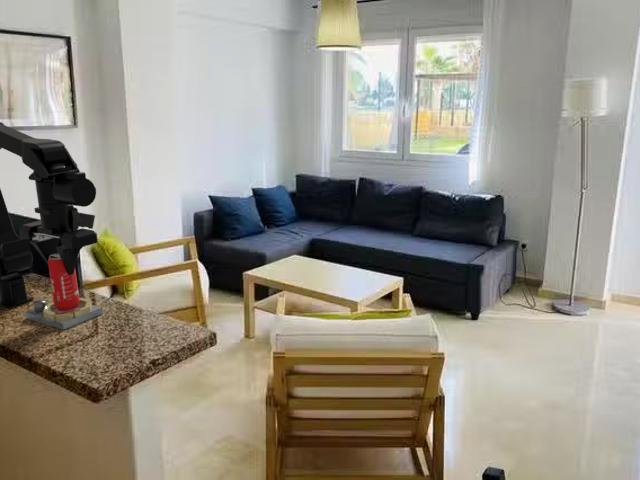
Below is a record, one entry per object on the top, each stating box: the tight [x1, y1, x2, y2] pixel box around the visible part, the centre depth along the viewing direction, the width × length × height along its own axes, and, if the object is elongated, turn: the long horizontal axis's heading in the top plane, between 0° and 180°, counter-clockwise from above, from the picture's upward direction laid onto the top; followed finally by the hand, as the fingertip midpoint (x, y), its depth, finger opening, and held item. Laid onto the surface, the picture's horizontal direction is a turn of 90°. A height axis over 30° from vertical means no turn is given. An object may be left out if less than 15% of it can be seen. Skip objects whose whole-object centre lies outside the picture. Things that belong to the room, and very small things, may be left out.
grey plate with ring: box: [25, 297, 104, 331], centre depth 127 cm, size 13×10×4 cm
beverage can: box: [47, 252, 80, 311], centre depth 125 cm, size 5×5×12 cm
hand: (62, 272), depth 124 cm, fingers closed on beverage can, 5 cm apart
